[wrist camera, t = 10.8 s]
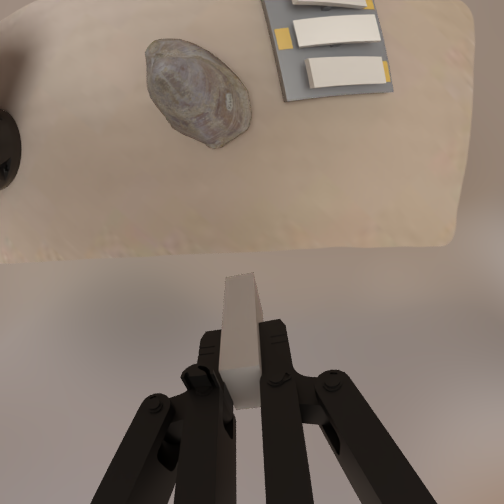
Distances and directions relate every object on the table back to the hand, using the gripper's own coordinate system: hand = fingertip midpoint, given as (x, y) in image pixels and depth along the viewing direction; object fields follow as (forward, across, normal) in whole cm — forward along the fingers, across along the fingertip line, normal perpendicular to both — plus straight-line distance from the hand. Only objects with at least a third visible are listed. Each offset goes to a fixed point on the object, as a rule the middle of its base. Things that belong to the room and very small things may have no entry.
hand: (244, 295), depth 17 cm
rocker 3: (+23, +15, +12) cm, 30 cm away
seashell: (+29, -3, +13) cm, 32 cm away
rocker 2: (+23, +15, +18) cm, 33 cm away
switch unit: (+28, +15, +18) cm, 37 cm away
